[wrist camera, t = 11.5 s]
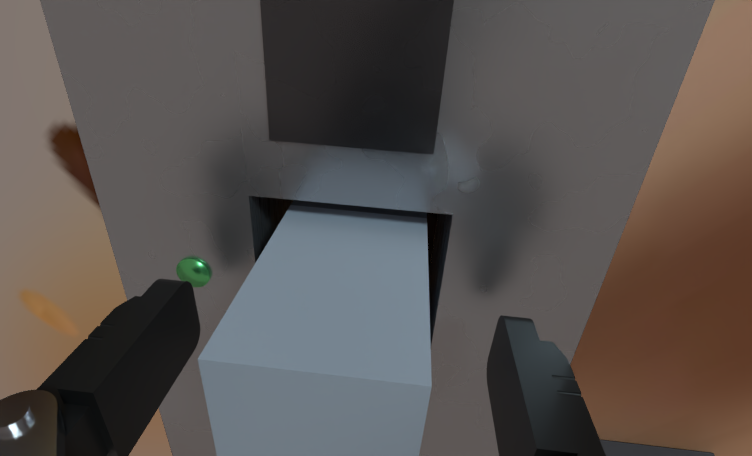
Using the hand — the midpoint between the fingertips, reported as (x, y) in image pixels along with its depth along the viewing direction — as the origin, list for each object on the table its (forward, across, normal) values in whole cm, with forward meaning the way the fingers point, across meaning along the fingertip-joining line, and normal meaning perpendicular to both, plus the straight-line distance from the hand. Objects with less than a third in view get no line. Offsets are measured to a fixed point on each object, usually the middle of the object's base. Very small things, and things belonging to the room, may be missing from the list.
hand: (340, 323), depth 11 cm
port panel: (+6, 0, 0) cm, 6 cm away
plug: (+6, 0, 0) cm, 6 cm away
